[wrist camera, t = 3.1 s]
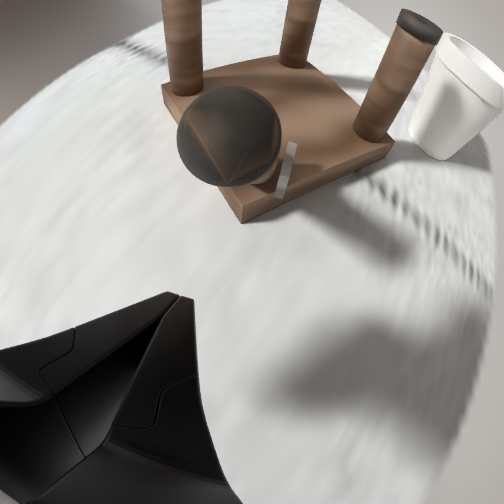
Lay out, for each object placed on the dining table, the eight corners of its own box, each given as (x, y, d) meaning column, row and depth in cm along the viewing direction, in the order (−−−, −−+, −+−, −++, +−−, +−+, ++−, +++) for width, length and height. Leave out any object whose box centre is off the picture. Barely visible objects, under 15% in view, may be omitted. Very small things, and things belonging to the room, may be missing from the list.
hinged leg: (272, 190, 19) (266, 198, 8) (226, 179, 19) (166, 174, 9) (284, 145, 18) (292, 97, 8) (237, 134, 18) (192, 79, 8)
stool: (389, 163, 25) (464, 45, 11) (237, 236, 21) (254, 38, 7) (291, 68, 30) (314, -37, 16) (157, 106, 26) (136, -26, 12)
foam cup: (387, 105, 29) (428, 21, 17) (442, 121, 30) (486, 54, 18) (412, 164, 25) (478, 73, 13) (469, 177, 26) (532, 109, 14)
